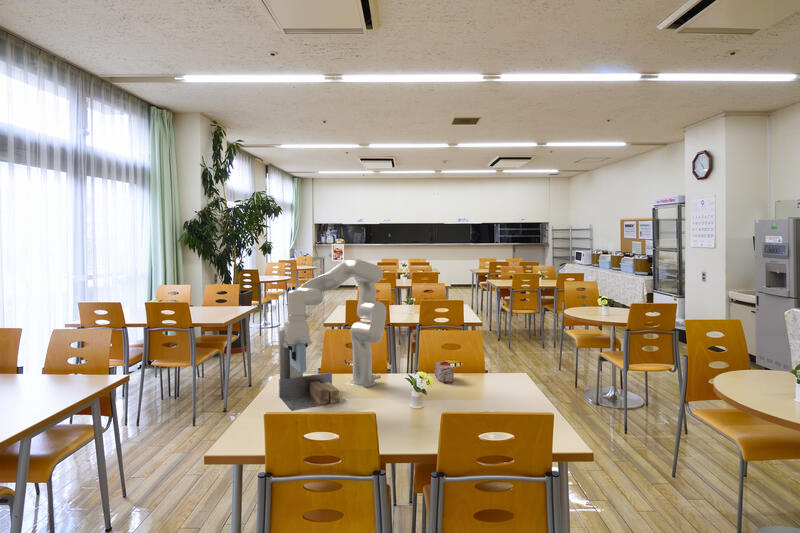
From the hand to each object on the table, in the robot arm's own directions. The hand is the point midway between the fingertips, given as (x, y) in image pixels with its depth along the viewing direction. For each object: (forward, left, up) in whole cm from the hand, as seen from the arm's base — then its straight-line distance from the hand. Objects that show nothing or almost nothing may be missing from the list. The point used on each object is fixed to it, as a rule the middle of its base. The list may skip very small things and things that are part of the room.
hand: (297, 359), depth 208 cm
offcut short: (-14, 0, -19) cm, 24 cm away
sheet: (0, 0, -4) cm, 4 cm away
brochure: (-3, -22, -20) cm, 30 cm away
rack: (-7, -1, -20) cm, 21 cm away
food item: (-77, -1, -20) cm, 80 cm away
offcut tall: (-9, 0, -19) cm, 21 cm away
